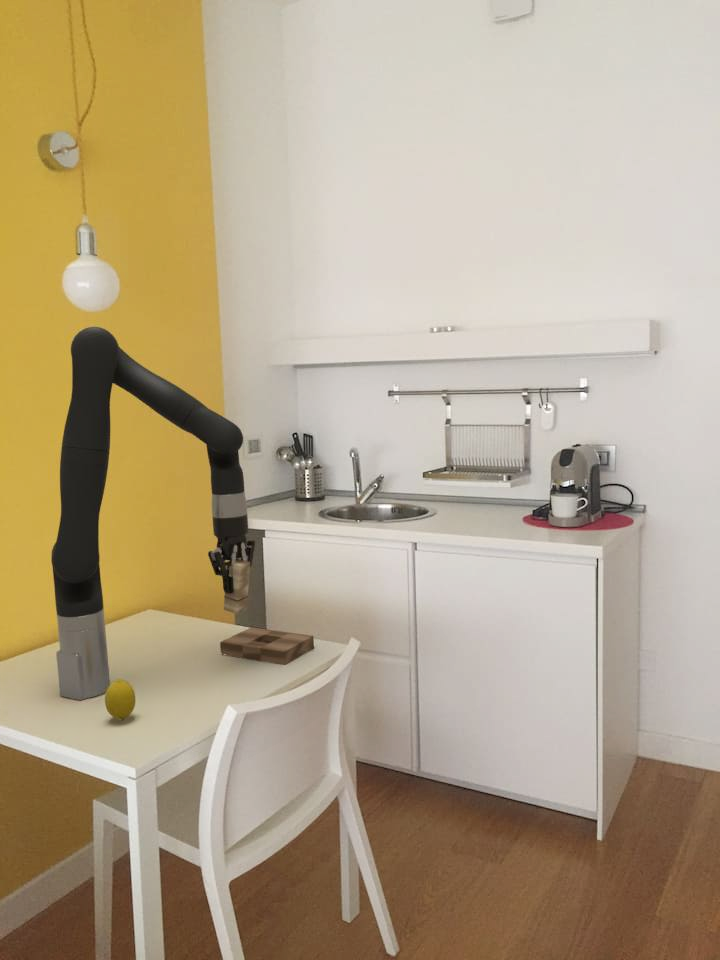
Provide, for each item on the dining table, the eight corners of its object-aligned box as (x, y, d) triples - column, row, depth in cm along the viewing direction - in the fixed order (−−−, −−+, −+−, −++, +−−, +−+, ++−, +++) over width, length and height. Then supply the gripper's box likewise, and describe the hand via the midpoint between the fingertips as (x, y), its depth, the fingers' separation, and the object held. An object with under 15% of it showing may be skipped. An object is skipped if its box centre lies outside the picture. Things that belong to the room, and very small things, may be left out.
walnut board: (284, 664, 183) (284, 651, 183) (220, 654, 192) (220, 642, 191) (314, 648, 193) (313, 635, 193) (252, 639, 202) (251, 627, 202)
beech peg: (236, 614, 179) (240, 565, 177) (223, 609, 181) (226, 561, 179) (247, 609, 183) (250, 562, 180) (234, 605, 184) (237, 558, 182)
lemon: (138, 722, 155) (134, 682, 154) (107, 728, 154) (103, 686, 153) (135, 712, 161) (132, 672, 160) (106, 717, 159) (102, 677, 158)
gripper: (222, 519, 171) (228, 600, 173) (263, 508, 183) (268, 584, 185) (194, 518, 175) (200, 597, 177) (236, 507, 187) (241, 581, 189)
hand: (235, 590), depth 181 cm, fingers closed on beech peg, 3 cm apart
